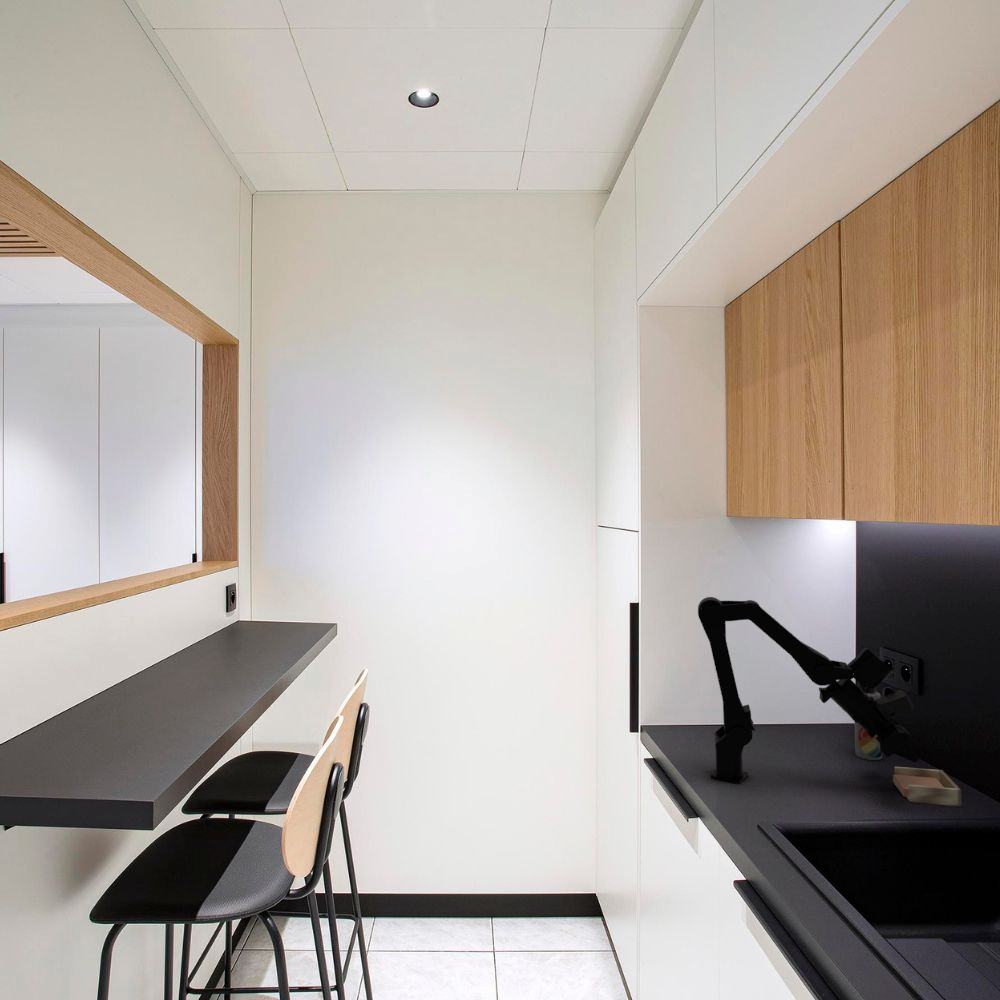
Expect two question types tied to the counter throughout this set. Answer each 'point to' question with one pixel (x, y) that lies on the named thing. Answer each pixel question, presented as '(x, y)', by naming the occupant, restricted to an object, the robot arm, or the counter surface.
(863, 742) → the lotion bottle
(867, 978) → the counter surface
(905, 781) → the drawer panel
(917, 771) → the tray
